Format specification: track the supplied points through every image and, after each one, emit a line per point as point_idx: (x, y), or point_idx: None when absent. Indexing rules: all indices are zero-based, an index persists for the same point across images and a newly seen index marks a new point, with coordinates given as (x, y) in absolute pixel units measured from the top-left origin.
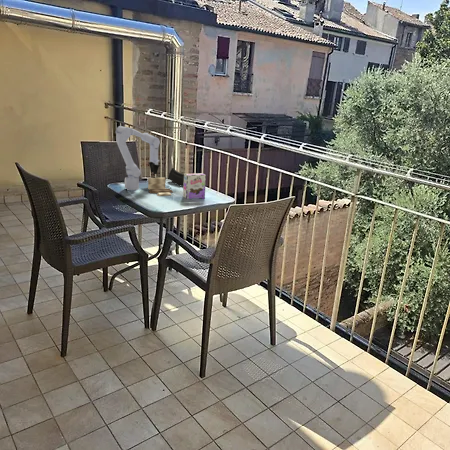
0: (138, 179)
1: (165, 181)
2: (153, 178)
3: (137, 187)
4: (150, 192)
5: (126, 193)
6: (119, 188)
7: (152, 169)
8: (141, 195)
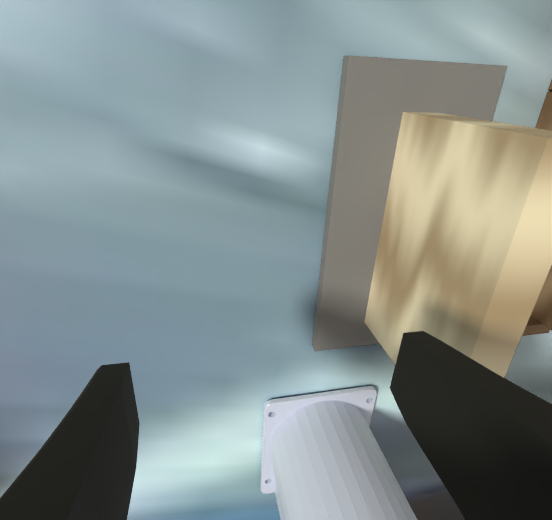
0: (398, 505)
1: (536, 129)
2: (506, 366)
3: (369, 429)
4: (545, 331)
5: (418, 466)
6: (240, 514)
7: (117, 472)
8: (518, 384)
